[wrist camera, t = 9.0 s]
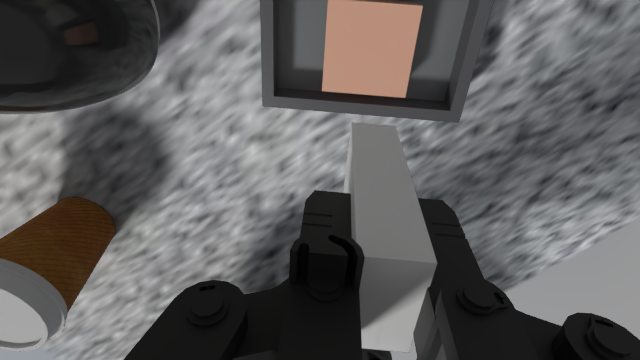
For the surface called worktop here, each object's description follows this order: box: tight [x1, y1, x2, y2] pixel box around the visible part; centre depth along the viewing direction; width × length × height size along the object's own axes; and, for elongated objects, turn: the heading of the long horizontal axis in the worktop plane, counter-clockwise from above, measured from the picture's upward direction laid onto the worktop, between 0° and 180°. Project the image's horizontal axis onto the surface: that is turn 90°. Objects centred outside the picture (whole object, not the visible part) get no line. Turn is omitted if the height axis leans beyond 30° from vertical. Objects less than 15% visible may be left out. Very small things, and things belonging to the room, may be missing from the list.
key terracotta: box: [322, 0, 423, 98], centre depth 24 cm, size 6×6×2 cm
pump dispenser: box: [0, 0, 160, 114], centre depth 21 cm, size 10×10×15 cm
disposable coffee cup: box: [0, 198, 115, 351], centre depth 33 cm, size 10×10×12 cm
